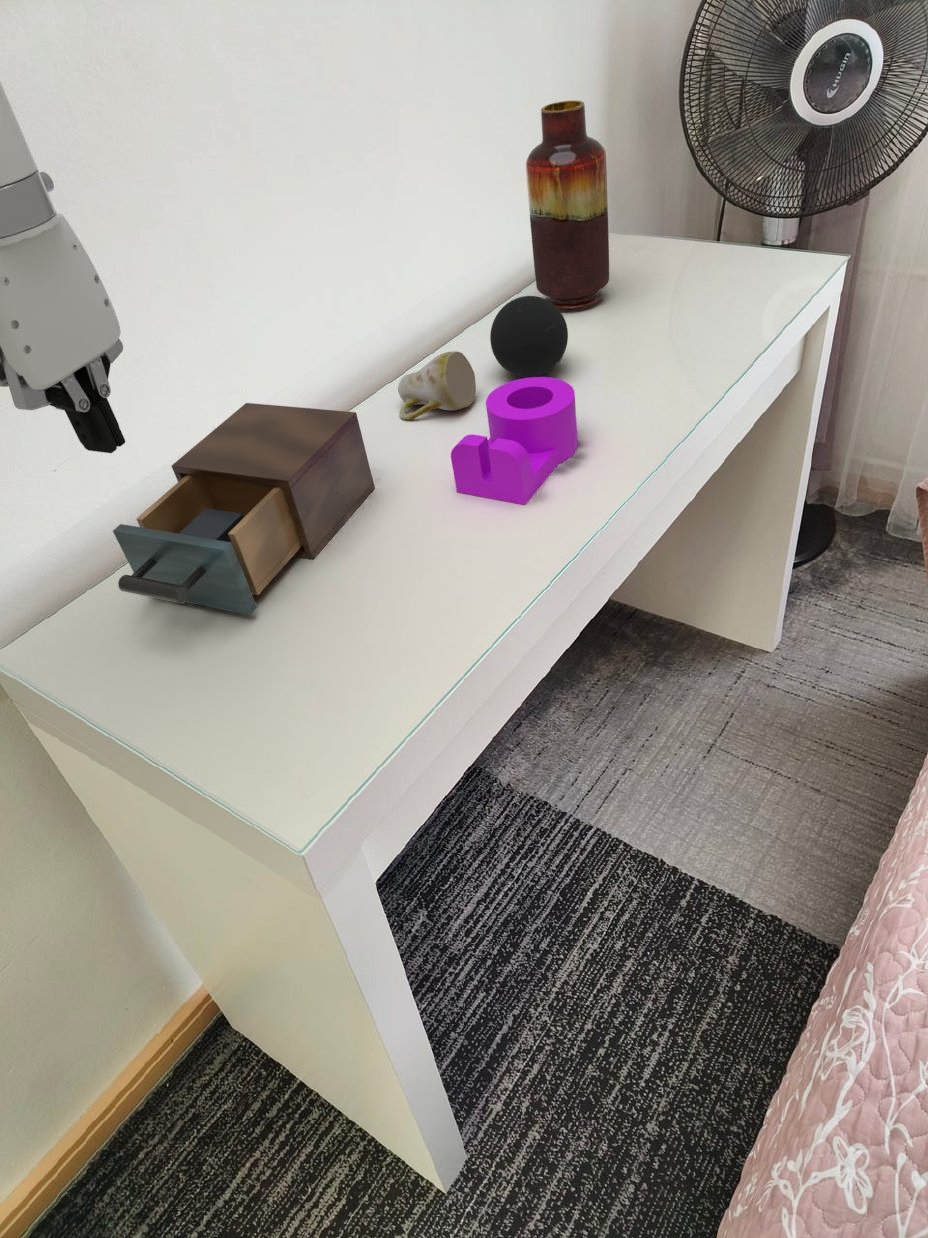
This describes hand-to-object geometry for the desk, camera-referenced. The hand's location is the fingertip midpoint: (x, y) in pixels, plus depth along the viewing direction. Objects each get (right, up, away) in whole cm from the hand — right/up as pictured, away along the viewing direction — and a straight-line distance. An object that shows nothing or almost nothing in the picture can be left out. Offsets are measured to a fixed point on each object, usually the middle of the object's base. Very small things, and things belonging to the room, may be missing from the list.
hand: (105, 446), depth 70 cm
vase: (+46, +34, +59) cm, 83 cm away
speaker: (+39, +18, +43) cm, 60 cm away
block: (+5, -8, +16) cm, 19 cm away
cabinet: (+10, -3, +25) cm, 27 cm away
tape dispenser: (+36, +4, +26) cm, 45 cm away
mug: (+26, +13, +39) cm, 49 cm away
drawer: (+5, -10, +16) cm, 19 cm away
